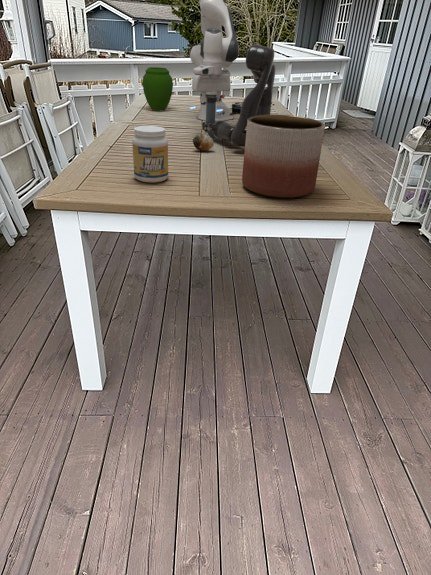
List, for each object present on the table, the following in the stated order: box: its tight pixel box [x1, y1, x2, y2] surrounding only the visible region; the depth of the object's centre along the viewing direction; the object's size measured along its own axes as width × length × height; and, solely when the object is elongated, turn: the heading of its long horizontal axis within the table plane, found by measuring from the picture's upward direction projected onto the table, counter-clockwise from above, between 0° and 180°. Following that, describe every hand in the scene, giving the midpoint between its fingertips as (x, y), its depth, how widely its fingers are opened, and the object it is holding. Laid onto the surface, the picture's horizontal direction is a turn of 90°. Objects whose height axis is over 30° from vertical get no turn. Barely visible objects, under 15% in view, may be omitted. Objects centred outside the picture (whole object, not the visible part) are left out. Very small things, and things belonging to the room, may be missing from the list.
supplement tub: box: [131, 125, 169, 183], centre depth 142 cm, size 12×12×17 cm
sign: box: [231, 101, 243, 115], centre depth 282 cm, size 19×3×30 cm
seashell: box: [192, 131, 215, 152], centre depth 181 cm, size 10×6×8 cm, turn 97°
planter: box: [241, 114, 326, 199], centre depth 138 cm, size 25×25×22 cm
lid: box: [206, 96, 217, 102], centre depth 198 cm, size 6×6×2 cm
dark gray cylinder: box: [204, 102, 216, 139], centre depth 202 cm, size 5×5×18 cm
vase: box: [141, 66, 174, 112], centre depth 261 cm, size 20×20×24 cm
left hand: (211, 101), depth 198 cm, fingers closed on lid, 5 cm apart
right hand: (207, 123), depth 206 cm, fingers closed on dark gray cylinder, 4 cm apart
